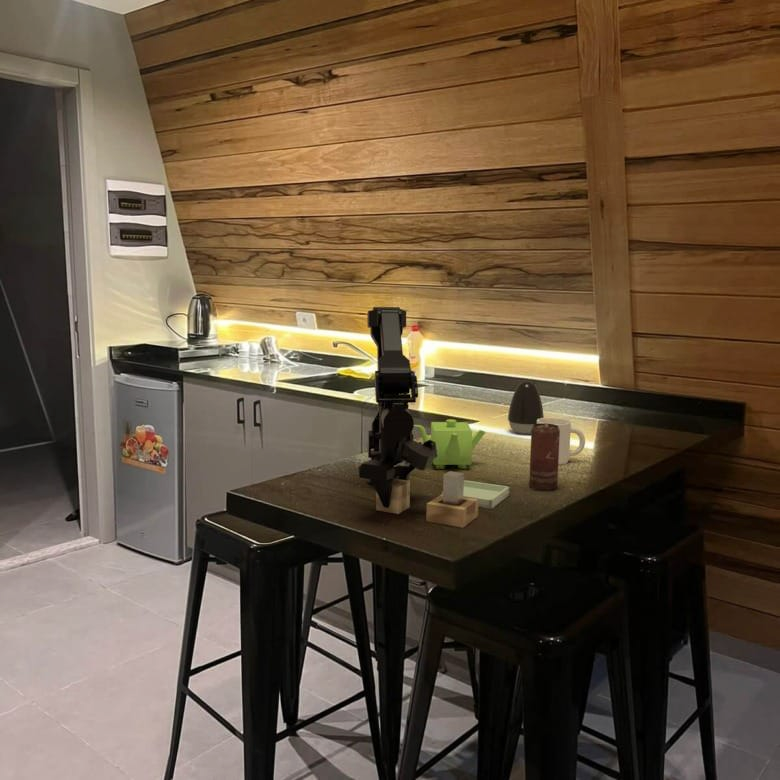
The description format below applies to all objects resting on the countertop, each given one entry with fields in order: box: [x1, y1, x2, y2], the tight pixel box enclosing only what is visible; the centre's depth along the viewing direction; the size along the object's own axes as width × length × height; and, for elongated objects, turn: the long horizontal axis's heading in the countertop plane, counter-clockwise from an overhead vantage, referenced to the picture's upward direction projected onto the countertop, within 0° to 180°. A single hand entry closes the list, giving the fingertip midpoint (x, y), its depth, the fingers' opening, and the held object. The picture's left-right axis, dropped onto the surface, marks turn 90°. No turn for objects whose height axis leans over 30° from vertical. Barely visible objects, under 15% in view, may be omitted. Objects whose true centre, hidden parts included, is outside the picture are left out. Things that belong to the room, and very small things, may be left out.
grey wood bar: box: [442, 470, 465, 506], centre depth 154 cm, size 3×3×9 cm
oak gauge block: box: [425, 493, 479, 529], centre depth 154 cm, size 8×8×4 cm
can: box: [529, 423, 560, 492], centre depth 176 cm, size 6×6×14 cm
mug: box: [537, 417, 586, 466], centre depth 198 cm, size 12×8×10 cm
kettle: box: [413, 418, 486, 470], centre depth 194 cm, size 15×14×11 cm
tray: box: [441, 479, 511, 510], centre depth 168 cm, size 11×11×2 cm
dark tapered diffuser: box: [507, 380, 545, 435], centre depth 231 cm, size 10×10×15 cm
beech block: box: [375, 479, 411, 515], centre depth 160 cm, size 5×5×6 cm
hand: (393, 503), depth 160 cm, fingers open, 5 cm apart
